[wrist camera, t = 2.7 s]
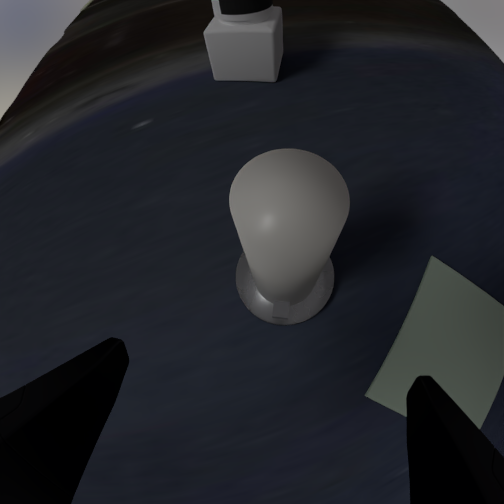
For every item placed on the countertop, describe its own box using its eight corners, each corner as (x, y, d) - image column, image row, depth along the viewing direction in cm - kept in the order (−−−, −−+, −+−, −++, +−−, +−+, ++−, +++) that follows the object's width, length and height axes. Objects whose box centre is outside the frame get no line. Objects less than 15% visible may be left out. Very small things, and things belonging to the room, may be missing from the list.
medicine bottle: (283, 52, 31) (280, -29, 20) (276, 83, 29) (271, -12, 17) (228, 51, 32) (214, -27, 21) (214, 82, 30) (192, -7, 18)
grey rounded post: (311, 323, 20) (347, 289, 9) (247, 316, 20) (214, 274, 10) (319, 236, 22) (347, 136, 11) (260, 230, 22) (243, 128, 12)
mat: (469, 444, 15) (471, 445, 15) (364, 395, 18) (365, 396, 18) (519, 320, 18) (521, 319, 18) (430, 256, 21) (432, 255, 21)
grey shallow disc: (328, 330, 20) (330, 329, 19) (230, 319, 21) (228, 318, 20) (335, 237, 22) (336, 234, 22) (244, 228, 23) (243, 225, 22)
